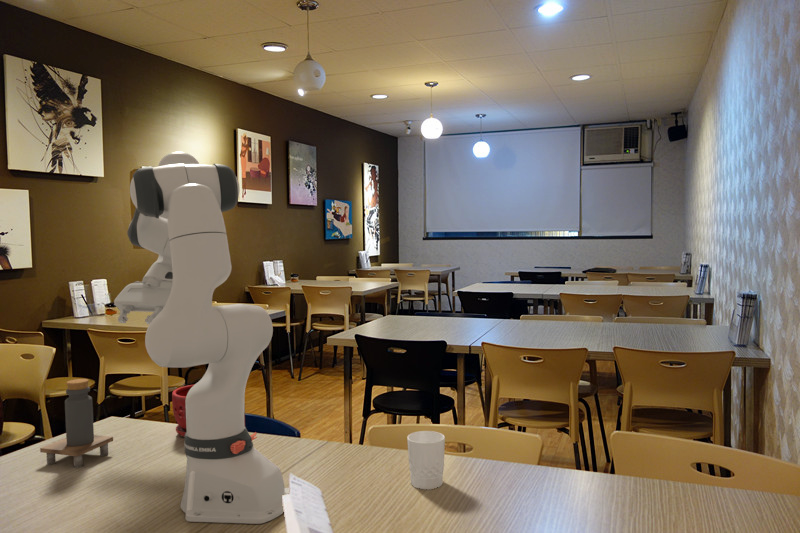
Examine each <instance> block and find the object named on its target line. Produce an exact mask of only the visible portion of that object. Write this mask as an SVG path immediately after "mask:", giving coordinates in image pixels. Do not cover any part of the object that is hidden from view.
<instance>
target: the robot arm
mask: <svg viewBox="0 0 800 533" xmlns="http://www.w3.org/2000/svg"><path fill="white" fill-rule="evenodd" d="M129 195H130V199H131V201H132V202H131V203H132V204H133V206H134V207H135V209H134V213H133V217H132V219H131V221H130V223H129V225H128V228H127V237H128V240H129V241H130V243H131V245H132V246H133V245H134V246H136V247H139V248H142V249H145V250H147V251H150V252H152V253H155V254H157V255H158V257H157V259H156V260H155V262H154V261H153V262H154V263H152V264H151V266H150V267H149V268H148V270H147V272H146V273H145V275H144V276H143V277H142V280H141V281H139V280H137V281H134V282H132V283H131V282H130V283H129V284H127V285H126V286H124V288H123V289H122V290H121V291H120V292H119V293H118V294H117V296H116V297H115V299H114V300H113V302H114V306H115V307H116V308H117V309H118V310H119V311H120V312H119V316H118V318H117V322H118V323H120V324H126V323H127V321H128V320H129V317H128V315H129V314H130V313H131V312H137V313H139V312H140V313H141V312H143V313H144V312H146V313H151V314H150V315H149V314H148V315H147V316H146V318H145V319H144V320H145V321H144V322H145V323H146V324H147V325H148V327H147V329H146V332H145V336H144V338H145V339H144V345H145V349H146V352H147V354H148V356H149V357H150V359H151V361H152V362H154V364H156V365H158V367H161V368H178V369H179V368H191V367H196V366H201V365H207V364H208V367H207V369H206V371H205V373H204V374H203V376H202V378H200V380H198V382H196V383H195V384H193V385H194V386H193V387H192V388H191V389H190V390H189V392H188V394H187V396H186V401H185V402H186V427H187V432H186V434H185V437H184V452H185V456H186V470H185V471H186V472H185V482H184V486H183V487H184V488H183V492H182V497H181V501H180V509H181V510H182V511H183V513H184V514H185V518H184V519H185V521H187V522H190V523H192V522H194V523H195V522H196V523H198V522H199V523H220V524H221V523H224V524H252V525H253V524H256V525H258V524H264V523H268V522H270V521H272V520H274V519H276V518H278V517H279V516H281V515H282V514H284V513H283V506H282V495H284V494H289V487H285V482H284V481H285V480H284V477H283V473H282V471H281V469H280V467H279V466H278V465H277V464H276V463H274V462H273V461H271V460H270V459H269V458H267V456H265V455H264V454H263V453H261V452H260V451H259V450H258V449H256V447H255V446H254V443H253V441H254V440H255V439H257V438H258V436H257V432H254V433H252V434H250V433H249V430H248V429H247V427H246V425H245V426H244V404H245V400H246V399H245V395H246V394H245V393H246V387H247V382H248V379H249V376H250V373H251V371H252V368H253V366H254V364H255V362H256V361H257V359H258V358H259V356H260V355H261V354H262V353H263V351H265V349H267V348H268V346H269V344H270V342H271V341H272V337H273V332H274V328H273V326H274V325H273V322H272V319H271V316H270V315H269V313H268V312H267V310H266V309H265V308H263V307H262V306H260V305H256V304H246V303H232V304H223V305H213V294H214V292H215V290H216V288H218V287H219V286H221V285H222V284H224V283H225V282H226V281H227V280H228V278H229V276H230V275H231V273H232V268H233V267H232V262H231V254H230V249H229V242H228V236H227V235H228V234H227V229H226V224H225V220H224V216H223V213H224V212H228V211H231V210H234V208H235V207H236V206H237V204H238V200H239V198H240V183H239V180H238V177H237V176H236V174H235V171H234V170H233V169H232V167H230V166H229V165H225V164H222V163H221V164H220V163H213V164H203V163H201V164H200V161H198V159H196V158H195V156H193V155H191V154H190V153H188V152H184V151H174V152H170V153H168V154H166V155H164V156H163V157H162V158H161V160H160V161H159V163H158V165H157V166H154V167H153V166H151V165H149V166H145V167H141V168H139V169H136V170H135V172H134V173H133V174H132V179H131V181H130V184H129Z"/></svg>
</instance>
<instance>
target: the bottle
mask: <svg viewBox="0 0 800 533" xmlns="http://www.w3.org/2000/svg"><path fill="white" fill-rule="evenodd" d="M89 380H90V379H87V378H76V379H71V380H70V379H69V380H67V381H66V385H67V386H66V387H67V389H66V390H65V393H66V395H68V397H67V398H66V399H65V400H64V413H65V434H66V436H65V438H66V439H67V445H68V446H83V445H87V444H90V443H92V442H93V441H94V435H95V432H94V407H93V405H94V404H93V396H90V395H89V394H88V393H89V392H90V391H91V387H90V386H89Z"/></svg>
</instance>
